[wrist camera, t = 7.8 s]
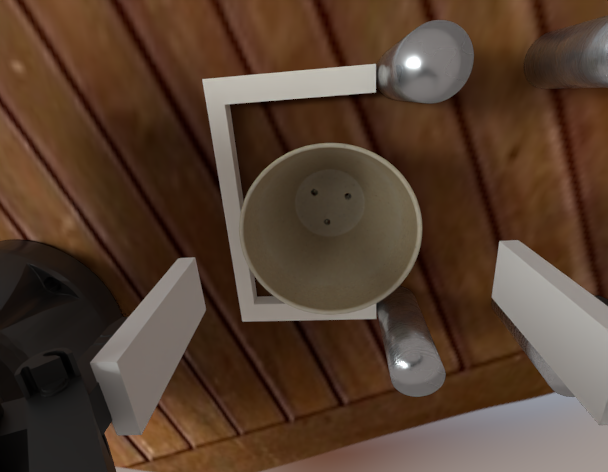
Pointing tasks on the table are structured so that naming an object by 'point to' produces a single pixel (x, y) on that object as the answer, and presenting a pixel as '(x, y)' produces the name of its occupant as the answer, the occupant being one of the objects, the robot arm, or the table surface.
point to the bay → (221, 126)
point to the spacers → (438, 87)
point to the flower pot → (330, 228)
